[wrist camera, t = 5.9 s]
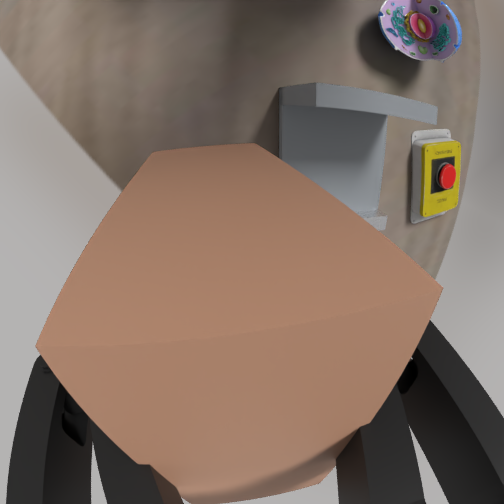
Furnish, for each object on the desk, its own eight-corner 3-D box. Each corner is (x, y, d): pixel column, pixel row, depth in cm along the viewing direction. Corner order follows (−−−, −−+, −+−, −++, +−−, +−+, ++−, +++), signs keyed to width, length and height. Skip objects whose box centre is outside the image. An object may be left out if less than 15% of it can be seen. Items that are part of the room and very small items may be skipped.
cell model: (352, -1, 22) (398, -20, 14) (415, 2, 22) (462, -7, 14) (376, 67, 27) (428, 65, 19) (434, 61, 27) (483, 64, 19)
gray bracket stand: (279, 87, 27) (316, 82, 19) (382, 99, 30) (437, 106, 21) (277, 247, 37) (303, 294, 29) (367, 237, 39) (407, 274, 31)
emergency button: (467, 133, 30) (461, 221, 37) (447, 127, 33) (444, 211, 41) (429, 136, 29) (424, 235, 37) (408, 130, 33) (408, 223, 41)
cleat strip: (280, 215, 34) (287, 223, 32) (377, 209, 36) (387, 216, 34) (280, 231, 35) (286, 239, 33) (375, 222, 37) (384, 229, 35)
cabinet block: (153, 151, 12) (36, 346, 2) (255, 143, 13) (443, 288, 3) (181, 321, 18) (197, 507, 8) (256, 312, 19) (316, 487, 8)
